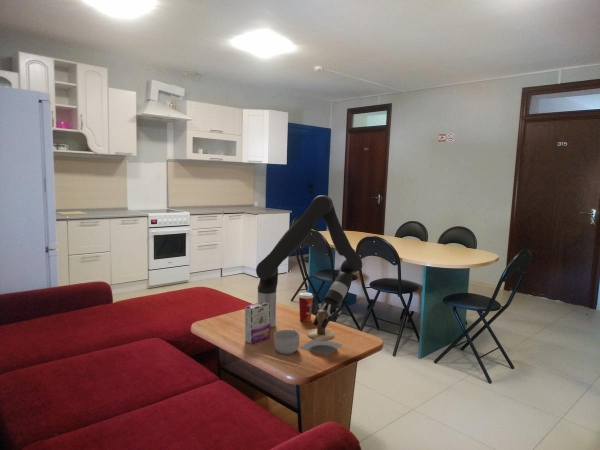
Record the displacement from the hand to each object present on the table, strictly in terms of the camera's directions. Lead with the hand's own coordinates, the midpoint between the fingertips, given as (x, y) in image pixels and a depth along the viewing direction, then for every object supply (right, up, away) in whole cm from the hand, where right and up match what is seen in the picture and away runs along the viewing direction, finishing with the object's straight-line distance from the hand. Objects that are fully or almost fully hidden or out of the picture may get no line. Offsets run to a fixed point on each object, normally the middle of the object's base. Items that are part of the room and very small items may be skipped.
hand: (318, 326), depth 172 cm
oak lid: (+1, -5, +2) cm, 5 cm away
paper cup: (-5, -6, +38) cm, 38 cm away
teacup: (-13, -10, -2) cm, 16 cm away
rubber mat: (+1, -10, +2) cm, 10 cm away
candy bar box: (-27, -9, +9) cm, 30 cm away
